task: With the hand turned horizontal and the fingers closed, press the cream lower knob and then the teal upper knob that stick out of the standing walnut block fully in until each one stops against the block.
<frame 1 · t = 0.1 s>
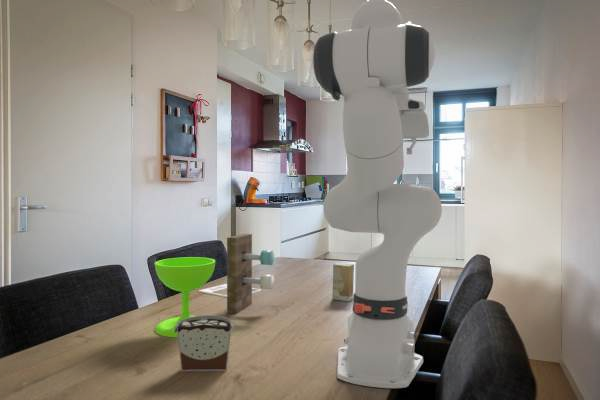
hand: (392, 154, 126), 48 cm above the table, tool pointing down, fingers open, 8 cm apart
wineglass: (185, 328, 119), on the table
knob upper: (252, 257, 136), point 16 cm above the table, slide at 6.0 cm
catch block: (239, 308, 138), on the table
skincare box: (343, 299, 150), on the table
knob lower: (252, 280, 137), point 9 cm above the table, slide at 6.0 cm
photo frame: (230, 293, 161), on the table
food container: (206, 365, 93), on the table
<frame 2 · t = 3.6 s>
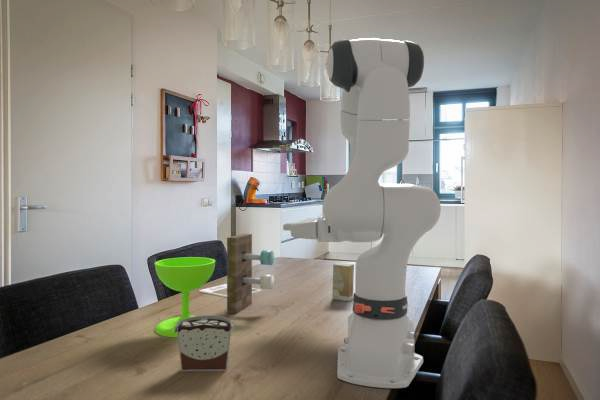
hand: (284, 226, 133), 26 cm above the table, tool horizontal, fingers closed
nothing on the table moved.
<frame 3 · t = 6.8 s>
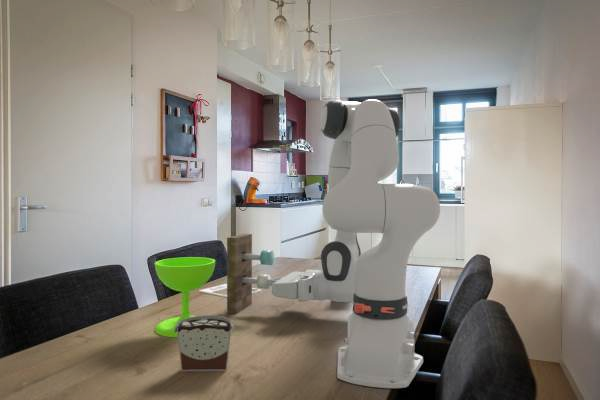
hand: (268, 281, 135), 9 cm above the table, tool horizontal, fingers closed, pressing on knob lower
knob lower: (249, 280, 137), point 9 cm above the table, slide at 4.9 cm, touching gripper
everything else where it was.
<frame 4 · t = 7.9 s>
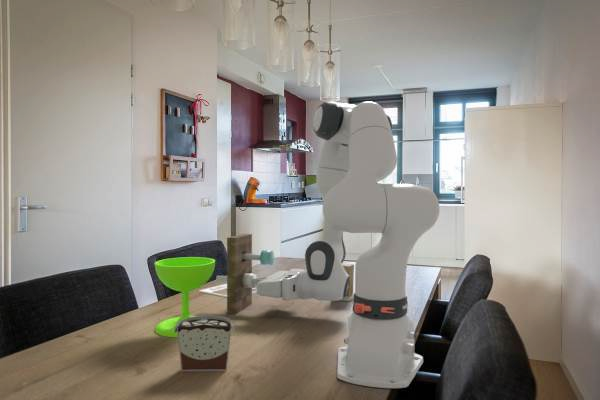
hand: (254, 280, 137), 9 cm above the table, tool horizontal, fingers closed, pressing on knob lower
knob lower: (235, 279, 138), point 9 cm above the table, slide at 0.1 cm, touching gripper
everything else where it was.
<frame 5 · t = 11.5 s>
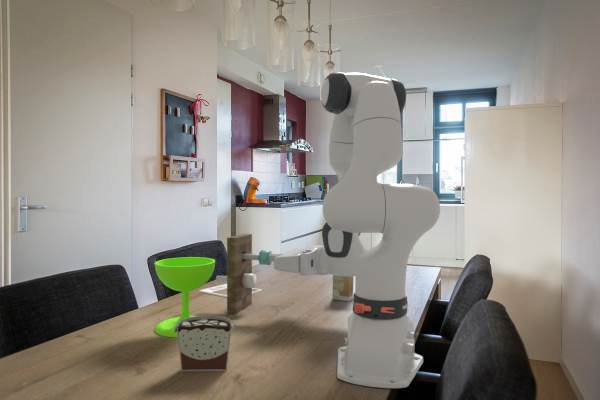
hand: (270, 257, 135), 17 cm above the table, tool horizontal, fingers closed, pressing on knob upper
knob upper: (251, 256, 137), point 16 cm above the table, slide at 5.5 cm, touching gripper
knob lower: (235, 279, 138), point 9 cm above the table, slide at 0.0 cm
everything else where it was.
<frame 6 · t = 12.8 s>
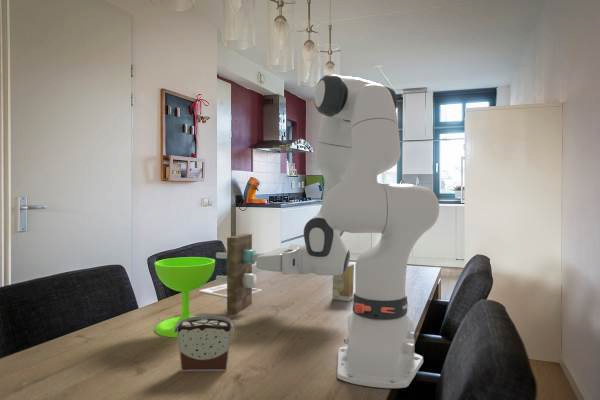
hand: (254, 256, 136), 17 cm above the table, tool horizontal, fingers closed, pressing on knob upper
knob upper: (235, 256, 138), point 16 cm above the table, slide at 0.0 cm, touching gripper
everything else where it was.
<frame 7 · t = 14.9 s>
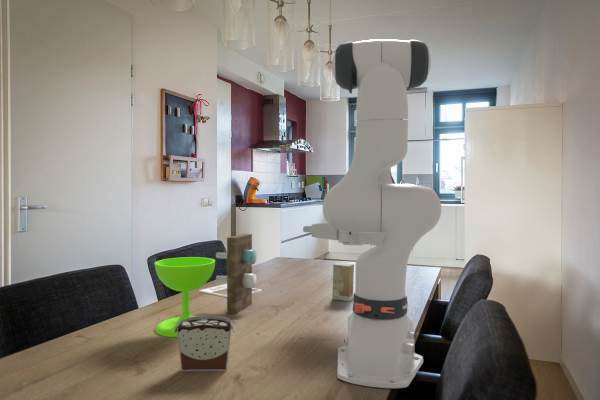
hand: (304, 228, 132), 26 cm above the table, tool horizontal, fingers closed
knob upper: (235, 256, 138), point 16 cm above the table, slide at 0.0 cm
everything else where it was.
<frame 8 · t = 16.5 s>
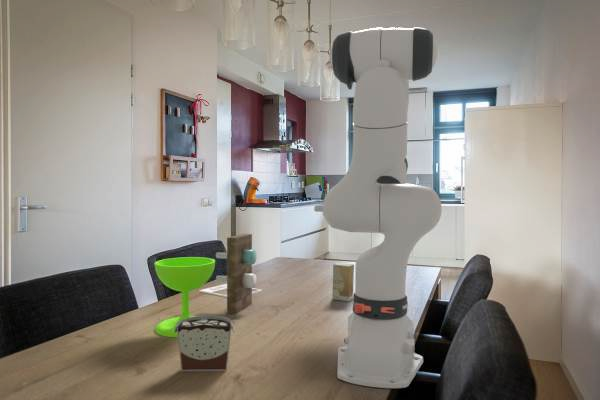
hand: (315, 208, 132), 32 cm above the table, tool horizontal, fingers closed
nothing on the table moved.
at the end: knob lower slide at 0.0 cm; knob upper slide at 0.0 cm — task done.
